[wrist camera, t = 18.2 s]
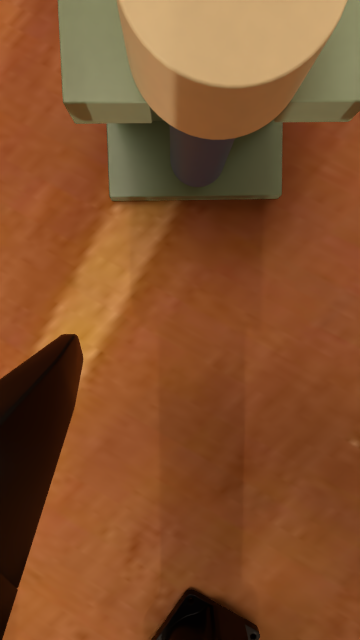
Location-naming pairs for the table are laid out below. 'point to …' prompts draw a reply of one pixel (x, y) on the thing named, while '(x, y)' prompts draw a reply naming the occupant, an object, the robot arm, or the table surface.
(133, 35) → the peg
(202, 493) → the table surface
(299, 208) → the table surface
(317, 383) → the table surface
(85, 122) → the stand
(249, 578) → the table surface
